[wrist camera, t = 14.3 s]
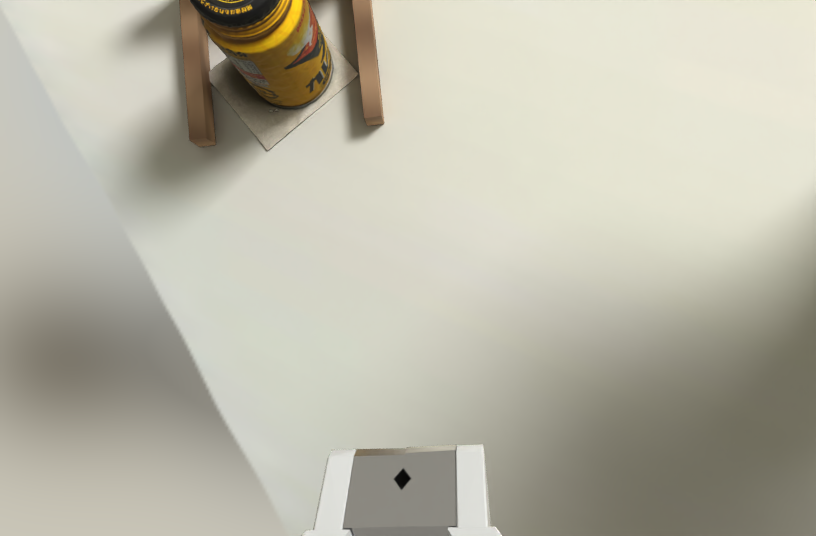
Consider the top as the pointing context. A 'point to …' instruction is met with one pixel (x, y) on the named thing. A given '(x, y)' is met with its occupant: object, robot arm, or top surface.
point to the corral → (200, 68)
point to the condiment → (272, 62)
